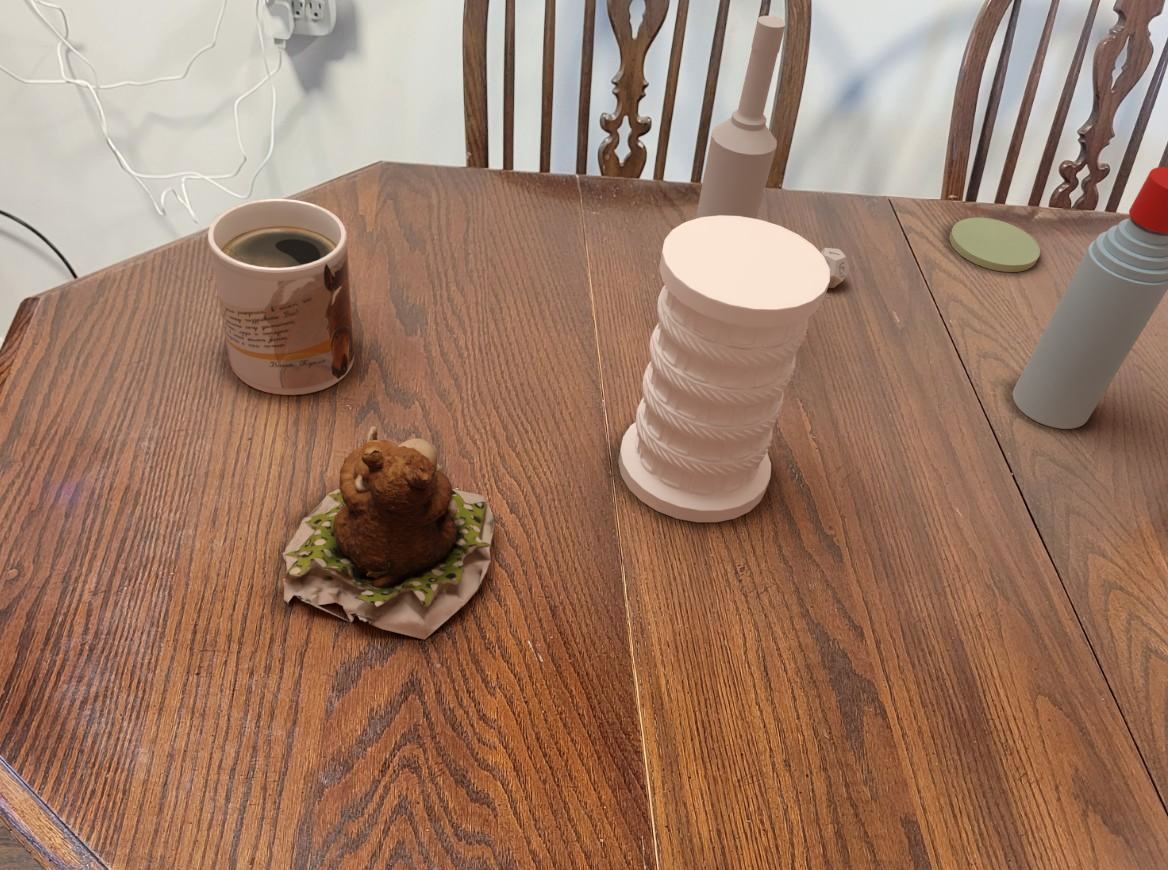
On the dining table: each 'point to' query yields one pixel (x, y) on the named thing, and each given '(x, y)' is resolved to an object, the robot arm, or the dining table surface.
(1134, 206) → the cap
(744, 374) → the decorative container
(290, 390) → the mug
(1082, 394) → the bottle
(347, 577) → the bear figurine
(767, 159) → the bottle
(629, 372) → the dining table surface
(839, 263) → the game die
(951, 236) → the coaster
